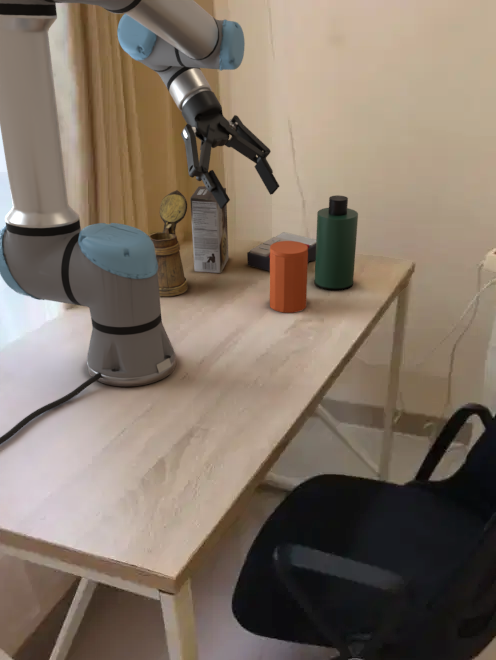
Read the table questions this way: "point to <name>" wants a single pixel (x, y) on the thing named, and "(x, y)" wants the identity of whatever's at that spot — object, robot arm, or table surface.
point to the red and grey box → (261, 253)
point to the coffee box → (208, 232)
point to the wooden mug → (170, 246)
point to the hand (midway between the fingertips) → (250, 197)
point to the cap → (288, 276)
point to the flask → (335, 245)
